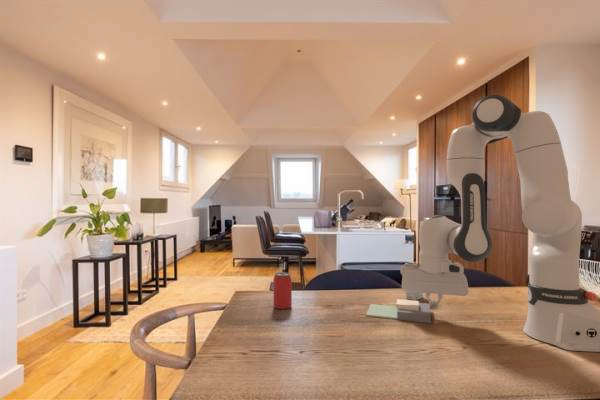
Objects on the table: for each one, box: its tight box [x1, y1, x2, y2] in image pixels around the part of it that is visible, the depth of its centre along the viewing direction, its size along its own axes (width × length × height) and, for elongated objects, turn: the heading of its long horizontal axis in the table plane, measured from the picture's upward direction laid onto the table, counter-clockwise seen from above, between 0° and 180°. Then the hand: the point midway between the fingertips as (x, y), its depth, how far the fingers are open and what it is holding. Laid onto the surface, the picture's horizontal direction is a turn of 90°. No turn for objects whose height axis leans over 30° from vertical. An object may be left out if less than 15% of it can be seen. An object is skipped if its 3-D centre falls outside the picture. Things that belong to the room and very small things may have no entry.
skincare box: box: [405, 266, 424, 301], centre depth 129 cm, size 6×4×12 cm
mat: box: [365, 303, 398, 320], centre depth 112 cm, size 10×12×1 cm
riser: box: [396, 302, 432, 324], centre depth 109 cm, size 10×12×2 cm
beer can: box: [272, 271, 293, 310], centre depth 118 cm, size 7×7×12 cm
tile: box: [395, 298, 420, 311], centre depth 110 cm, size 7×6×2 cm
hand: (433, 306), depth 107 cm, fingers closed
